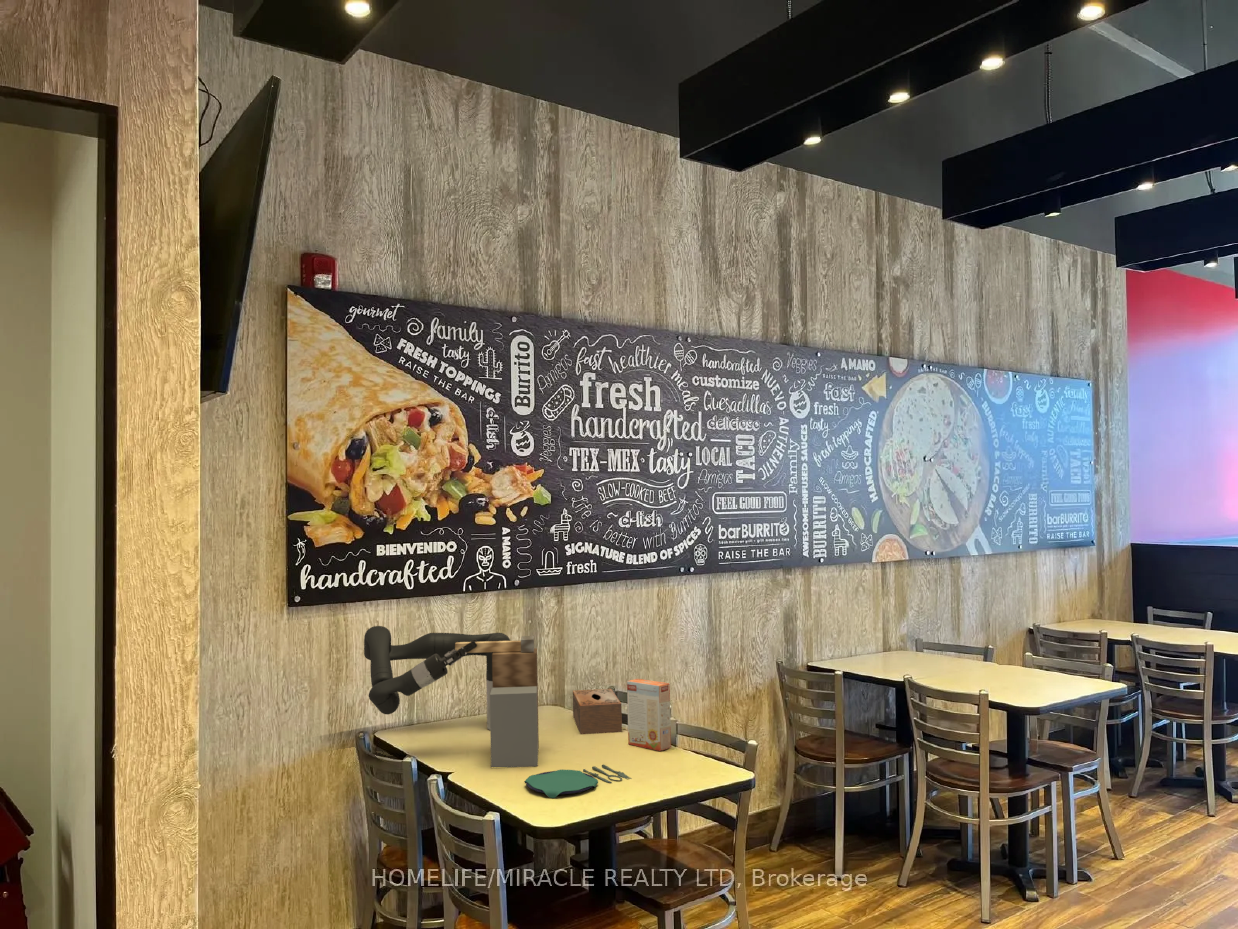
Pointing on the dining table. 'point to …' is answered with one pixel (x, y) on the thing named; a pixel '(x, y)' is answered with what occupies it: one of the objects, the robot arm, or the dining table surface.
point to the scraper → (501, 645)
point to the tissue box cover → (597, 711)
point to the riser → (515, 670)
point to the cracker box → (649, 714)
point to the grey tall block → (514, 727)
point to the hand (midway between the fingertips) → (475, 642)
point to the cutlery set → (568, 781)
